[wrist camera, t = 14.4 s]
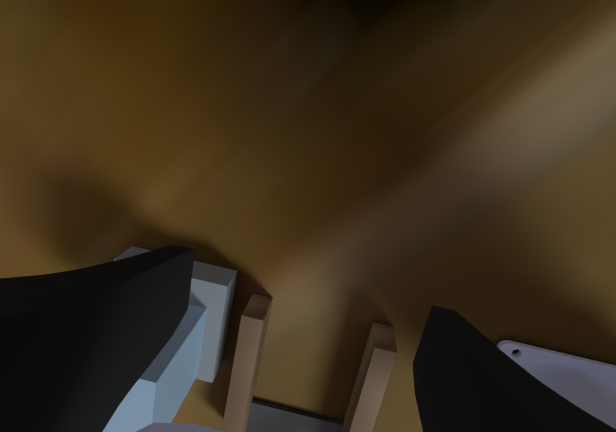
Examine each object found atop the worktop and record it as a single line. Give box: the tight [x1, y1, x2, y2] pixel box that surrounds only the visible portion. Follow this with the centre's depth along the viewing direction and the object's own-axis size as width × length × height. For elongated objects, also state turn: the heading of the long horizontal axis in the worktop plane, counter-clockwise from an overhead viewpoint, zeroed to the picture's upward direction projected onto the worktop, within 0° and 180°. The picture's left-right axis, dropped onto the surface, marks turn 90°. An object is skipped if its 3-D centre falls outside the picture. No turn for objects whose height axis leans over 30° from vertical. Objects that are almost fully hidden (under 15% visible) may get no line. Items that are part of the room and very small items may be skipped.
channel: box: [222, 293, 397, 432], centre depth 24 cm, size 8×10×2 cm
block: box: [103, 304, 207, 432], centre depth 20 cm, size 4×4×6 cm
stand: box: [113, 246, 238, 383], centre depth 24 cm, size 6×6×2 cm
